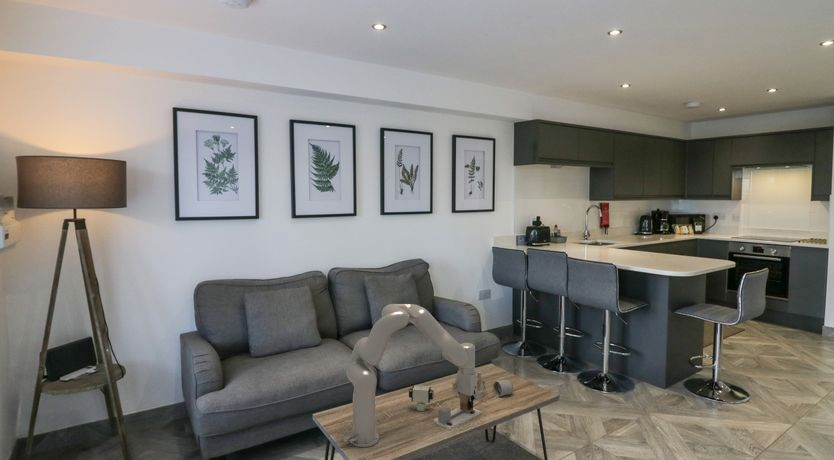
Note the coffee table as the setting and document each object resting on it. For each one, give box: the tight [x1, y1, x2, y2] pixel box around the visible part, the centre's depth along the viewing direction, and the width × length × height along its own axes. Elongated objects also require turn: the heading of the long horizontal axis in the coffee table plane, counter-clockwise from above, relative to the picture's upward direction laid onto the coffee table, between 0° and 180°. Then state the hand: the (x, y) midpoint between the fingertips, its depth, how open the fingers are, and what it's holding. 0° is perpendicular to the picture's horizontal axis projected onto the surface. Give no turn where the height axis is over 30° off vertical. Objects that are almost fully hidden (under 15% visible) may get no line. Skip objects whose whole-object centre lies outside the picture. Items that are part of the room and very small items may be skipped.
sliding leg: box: [459, 393, 475, 412], centre depth 216 cm, size 5×7×8 cm
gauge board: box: [432, 406, 482, 431], centre depth 213 cm, size 22×10×7 cm, turn 134°
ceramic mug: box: [492, 379, 514, 397], centre depth 239 cm, size 11×8×8 cm
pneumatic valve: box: [408, 384, 435, 412], centre depth 222 cm, size 6×12×12 cm, turn 78°
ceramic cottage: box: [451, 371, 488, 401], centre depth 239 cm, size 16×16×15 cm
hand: (466, 406), depth 217 cm, fingers closed on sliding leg, 4 cm apart
